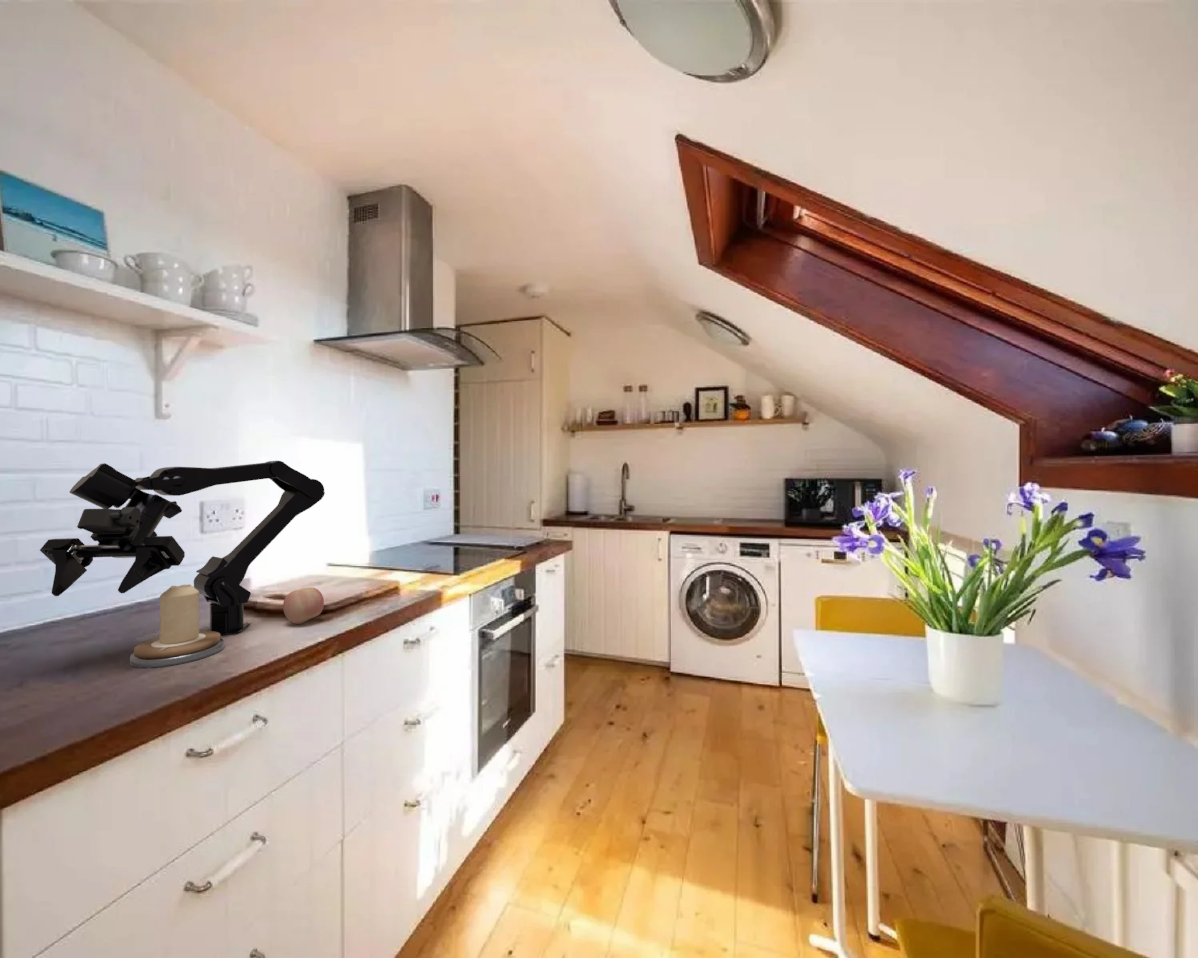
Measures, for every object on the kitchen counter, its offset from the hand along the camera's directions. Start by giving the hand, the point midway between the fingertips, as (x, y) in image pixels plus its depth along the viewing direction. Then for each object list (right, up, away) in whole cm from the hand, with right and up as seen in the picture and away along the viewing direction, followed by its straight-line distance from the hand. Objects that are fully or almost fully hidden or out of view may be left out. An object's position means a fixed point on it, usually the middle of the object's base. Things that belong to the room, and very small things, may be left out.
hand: (87, 593), depth 79 cm
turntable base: (+7, -14, +9) cm, 18 cm away
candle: (+7, -11, +10) cm, 16 cm away
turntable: (+7, -12, +10) cm, 17 cm away
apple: (+18, -14, +29) cm, 37 cm away
